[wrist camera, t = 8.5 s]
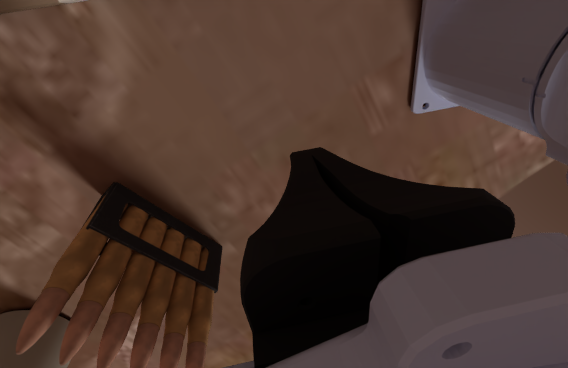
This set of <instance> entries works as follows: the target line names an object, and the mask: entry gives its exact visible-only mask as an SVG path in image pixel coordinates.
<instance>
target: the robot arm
mask: <svg viewBox="0 0 568 368" xmlns="http://www.w3.org/2000/svg"><path fill="white" fill-rule="evenodd" d="M424 103H426V105H425V107H424V108H422V106H423V104H424ZM455 106H462V107H465V108H467V109H470V110H472V111H475V112H477V113H480V114H482V115H484V116H487V117H489V118H492V119H494V120H497V121H499V122H502V123H504V124H507V125H509V126H512V127H514V128H517V129H519V130H522V131H524V132H527V133H529V134H532V135H534V136H537V137H539V138H541V139H544V140H545V141H546V144H547V150H546V156H548V157H551V158H553V159H555V160H557V161H560V162H562V163H564V164H566V165H568V0H423V4H422V12H421V21H420V30H419V39H418V47H417V56H416V65H415V73H414V82H413V91H412V100H411V111H412V112H414V113H416V114H418V113H424V112H429V111H434V110H439V109H445V108H450V107H455ZM290 160H291V171H290V177H289V180H288V183H287V186H286V189H285V192H284V194H283V196H282V198H281V200H280V202H279V204H278V205H277V207H276V209H275V210H274V212H273V213H272V214H271V216H270V217H269V218H268V219H267V221H266V222H265V223H264V224H263V225H262V226H261V227H260V228H259V229H258V230H257V231H256V232H255V233H254V234H252V235H251V236H250V237H249V238H248V241H247V245H246V248H245V252H244V257H243V261H242V268H241V277H240V286H241V300H242V305H243V308H244V311H245V313H246V316H247V319H248V322H249V325H250V327H251V330H252V334H253V353H254V361H250V362H246V363H241V364H237V365H232V366H228V367H224V368H568V236H566V235H565V234H563V233H532V234H528V235H523V236H518V237H513V238H511V237H512V234H513V230H514V227H515V218H514V214H513V212H512V210H511V209H510V207H508V206H507V205H505V204H504V203H503V202H501V201H500V200H498V199H497V198H496V197H494V196H493V195H491V194H490V193H489V192H487V191H486V190H484V189H477V188H460V187H445V186H437V185H429V184H422V183H416V182H411V181H406V180H401V179H397V178H393V177H389V176H386V175H382V174H379V173H376V172H373V171H370V170H367V169H365V168H363V167H360V166H358V165H355V164H353V163H351V162H349V161H347V160H345V159H343V158H341V157H339V156H337V155H335V154H333V153H331V152H329V151H327V150H325V149H323V148H321V147H319V148H314V149H308V150H303V151H298V152H292V153H291V155H290ZM566 180H567V184H568V171H567V174H566Z"/></svg>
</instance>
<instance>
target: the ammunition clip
mask: <svg viewBox="0 0 568 368" xmlns="http://www.w3.org/2000/svg"><path fill="white" fill-rule="evenodd" d="M119 220H120V221H119ZM109 238H110V239H109ZM108 239H109V241H108V243H107V240H108ZM132 252H133V253H132ZM131 254H132V255H131ZM99 255H100V257H99V259H98V261H97V263H96V265H95V266H94V268H93V270H92V272H91V274H90V275H89V277H88V279H87V281H86V284H85V288H84V291H83V294H82V296H81V298H80V300H79V302H78V304H77V308H76V310H75V312H74V314H73V315H72V317H71V319H70V322H69V324H68V326H67V329H66V331H65V334H64V337H63V341H62V345H61V349H60V355H59V364H60V365H61V366H63V365H65V364H66V363H67V362H68V361H69V360H70V359H71V358H72V357H73V356H74V355H75V354H76V353H77V352H78V350H79V349H80V348H81V346H82V345H83V343H84V342H85V341H86V339H87V338H88V336H89V335H90V333H91V331H92V329H93V328H94V326H95V324H96V322H97V320H98V318H99V316H100V314H101V312H102V311H103V309H104V307H105V305H106V303H107V301H108V299H109V298H110V296H111V295H112V293H113V292H114V291H115V289H116V288H117V286H118V284H119V286H118V288H117V290H116V293H115V297H114V303H113V307H112V310H111V312H110V315H109V319H108V322H107V324H106V327H105V329H104V332H103V336H102V339H101V342H100V347H99V352H98V359H97V368H108V367H109V366H110V365H111V363H112V362H113V360H114V359H115V357H116V355H117V354H118V352H119V350H120V348H121V347H122V345H123V342H124V340H125V338H126V336H127V334H128V331H129V328H130V325H131V322H132V321H133V319H134V316H135V314H136V311H137V309H138V307H139V305H140V303H141V302H142V305H141V315H140V319H139V323H138V327H137V332H136V335H135V339H134V343H133V348H132V353H131V361H130V368H146V366H147V364H148V361H149V359H150V357H151V354H152V352H153V349H154V346H155V343H156V339H157V336H158V332H159V330H160V327H161V323H162V320H163V317H164V315H165V313H166V318H165V332H164V338H163V339H164V340H163V345H162V350H161V358H160V368H177V366H178V363H179V359H180V355H181V351H182V346H183V340H184V337H185V333H186V328H187V325H188V343H187V356H186V368H203V367H204V362H205V355H206V347H207V341H208V334H209V331H210V327H211V323H212V312H213V300H214V293H216V292H217V291H218V283H219V274H220V264H221V255H222V246H221V245H219V244H217V243H216V242H214V241H213V240H211V239H209V238H208V237H206V236H204V235H203V234H201V233H199V232H198V231H196V230H195V229H193V228H191V227H190V226H188V225H186V224H185V223H183V222H181V221H180V220H178V219H177V218H175V217H173V216H172V215H170V214H168V213H167V212H165V211H163V210H162V209H160V208H159V207H157V206H155V205H154V204H152V203H150V202H149V201H147V200H145V199H144V198H142V197H141V196H139V195H137V194H136V193H134V192H132V191H131V190H129V189H128V188H126V187H124V186H123V185H121V184H119V183H113V184H112V185H111V186H110V187H109V188H108V190H107V191H106V192H105V193H104V194H103V195H102V196H101V198H100V199H99V201H98V203H97V204H96V206H95V207H94V209H93V211H92V212H91V214H90V215H89V217H88V219H87V220H86V222H85V224H84V225H83V227H82V228H81V230H80V231H79V233H78V234H77V236H76V237H75V238H74V240H73V241H72V243H71V244H70V245H69V247H68V248H67V250H66V251H65V253H64V254H63V255H62V257H61V258H60V260H59V261H58V262H57V264H56V266H55V268H54V270H53V272H52V274H51V277H50V279H49V281H48V282H47V284H46V286H45V287H44V289H43V290H42V292H41V295H40V296H39V297H38V299H37V300H36V302H35V303H34V305H33V307H32V309H31V310H30V312H29V314H28V316H27V318H26V320H25V322H24V324H23V326H22V329H21V331H20V334H19V337H18V340H17V344H16V354H18V355H20V354H22V353H23V352H25V351H26V350H27V349H29V348H30V347H31V346H32V345H33V344H34V343H35V342H36V341H37V340H38V339H39V338H40V337H41V336H42V335H43V334H44V333H45V332H46V331H47V329H48V328H49V327H50V326H51V325H52V323H53V322H54V321H55V319H56V318H57V316H58V315H59V314H60V312H61V311H62V309H63V307H64V306H65V304H66V302H67V301H68V300H69V299H70V297H71V296H72V294H73V293H74V291H75V289H76V288H77V287H78V286H79V285H80V284H81V282H82V281H83V280H84V279H85V278H86V276H87V275H88V273H89V271H90V270H91V268H92V266H93V265H94V263H95V261H96V259H97V258H98V256H99ZM125 268H126V269H125ZM124 270H125V271H124ZM123 273H124V274H123ZM122 275H123V276H122ZM121 277H122V278H121ZM120 279H121V281H120ZM119 282H120V283H119ZM142 300H143V301H142Z"/></svg>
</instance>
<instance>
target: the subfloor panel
mask: <svg viewBox="0 0 568 368" xmlns="http://www.w3.org/2000/svg"><path fill="white" fill-rule="evenodd" d="M80 1H86V0H0V14H3V13H10V12H16V11H22V10H29V9H35V8H42V7H48V6H54V5H61V4H67V3H74V2H80Z"/></svg>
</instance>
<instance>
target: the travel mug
mask: <svg viewBox="0 0 568 368" xmlns="http://www.w3.org/2000/svg"><path fill="white" fill-rule="evenodd" d="M29 312H30V310H18V311H11V312H6V313H3V314H0V368H67V366H68V364H69V362H70V360H71V359H70V360H69V361H68V362H67V363H66V364H65V365H63V366H61V365H60V364H59V355H60V349H61V345H62V341H63V337H64V334H65V331H66V329H67V326H68V324H69V322H70V321H68V320H67V319H65V318H63V317H60V316H57V318H56V319H55V321H54V322H53V323H52V325H51V326H50V327H49V328H48V329H47V331H46V332H45V333H44V334H43V335H42V336H41V337H40V338H39V339H38V340H37V341H36V342H35V343H34V344H33V345H32V346H31V347H30V348H29V349H27V350H26V351H25V352H23V353H22V354H20V355H18V354H16V344H17V340H18V337H19V334H20V331H21V329H22V326H23V324H24V322H25V320H26V318H27V316H28V314H29Z"/></svg>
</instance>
